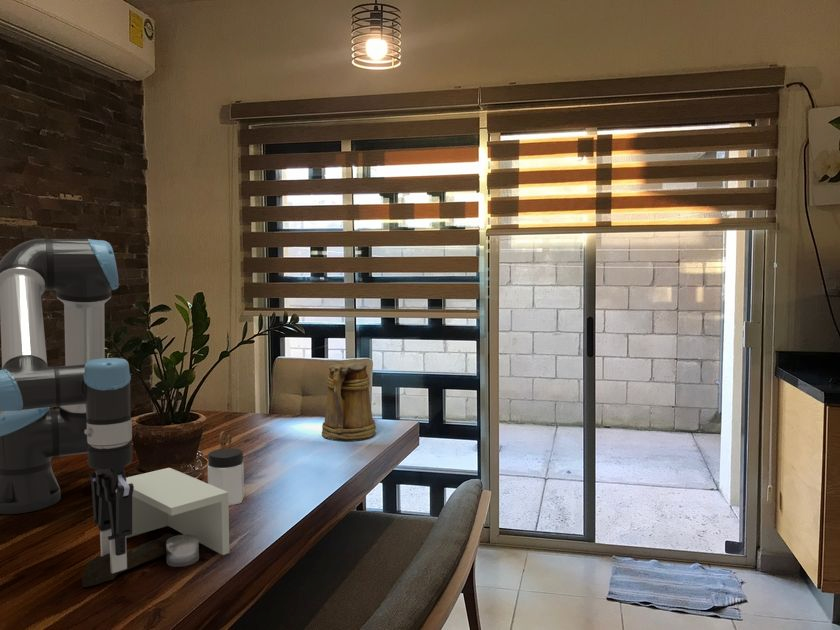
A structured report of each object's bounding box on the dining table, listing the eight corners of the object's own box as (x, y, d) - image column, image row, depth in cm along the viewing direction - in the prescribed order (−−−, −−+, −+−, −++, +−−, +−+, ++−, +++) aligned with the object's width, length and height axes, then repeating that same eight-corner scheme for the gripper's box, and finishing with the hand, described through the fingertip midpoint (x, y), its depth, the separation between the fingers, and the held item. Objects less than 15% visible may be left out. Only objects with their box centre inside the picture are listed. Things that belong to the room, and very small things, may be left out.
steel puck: (161, 559, 135) (160, 540, 134) (190, 550, 139) (190, 531, 138) (174, 569, 130) (173, 549, 130) (204, 560, 134) (203, 540, 134)
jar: (252, 498, 170) (251, 450, 169) (230, 508, 162) (229, 459, 161) (223, 493, 173) (222, 446, 172) (200, 503, 166) (199, 454, 165)
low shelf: (117, 537, 145) (115, 480, 144) (170, 522, 154) (169, 467, 153) (173, 572, 129) (171, 508, 128) (229, 552, 138) (228, 492, 137)
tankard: (380, 428, 240) (380, 358, 238) (365, 446, 216) (365, 368, 214) (330, 427, 242) (329, 357, 240) (310, 444, 219) (309, 367, 217)
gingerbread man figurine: (222, 479, 184) (221, 435, 183) (209, 478, 185) (208, 435, 184) (238, 470, 192) (237, 427, 192) (225, 469, 193) (224, 427, 192)
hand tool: (166, 549, 140) (165, 527, 139) (178, 554, 137) (177, 531, 137) (74, 585, 124) (73, 561, 124) (87, 591, 122) (85, 566, 121)
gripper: (70, 439, 129) (75, 560, 130) (108, 456, 117) (112, 588, 119) (111, 431, 134) (115, 548, 136) (150, 447, 123) (154, 574, 125)
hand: (114, 566), depth 128 cm, fingers closed on hand tool, 3 cm apart
